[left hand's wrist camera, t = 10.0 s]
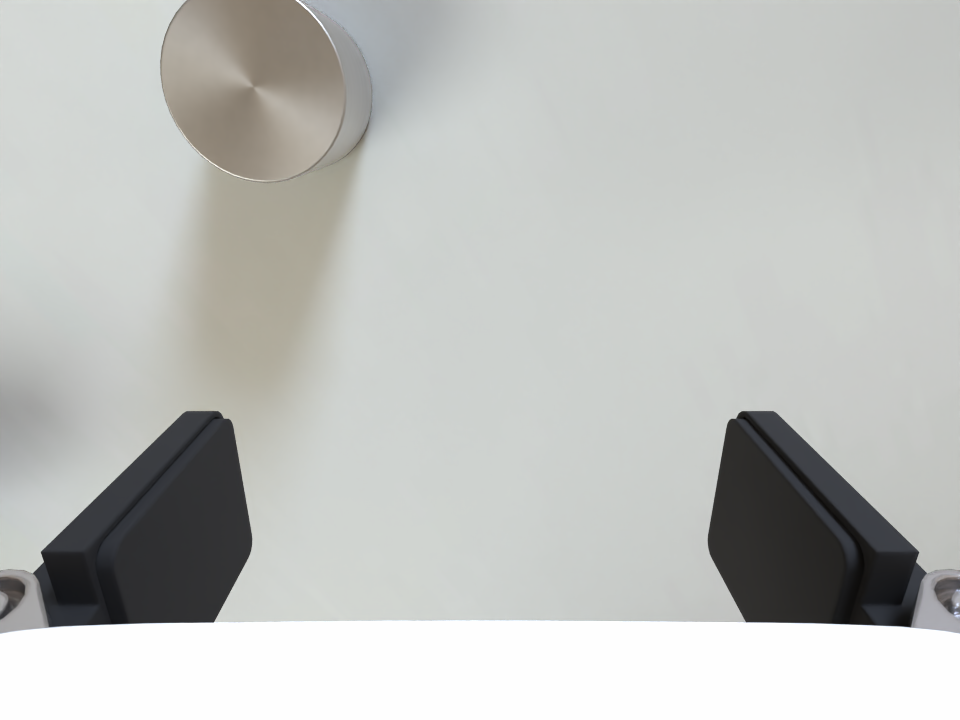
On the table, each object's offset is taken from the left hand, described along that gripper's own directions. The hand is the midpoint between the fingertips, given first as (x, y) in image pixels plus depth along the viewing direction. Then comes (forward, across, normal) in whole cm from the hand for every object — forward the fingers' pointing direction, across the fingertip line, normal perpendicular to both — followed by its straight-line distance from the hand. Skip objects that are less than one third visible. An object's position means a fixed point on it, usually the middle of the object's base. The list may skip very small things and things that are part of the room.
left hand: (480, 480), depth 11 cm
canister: (+11, +6, -7) cm, 15 cm away
